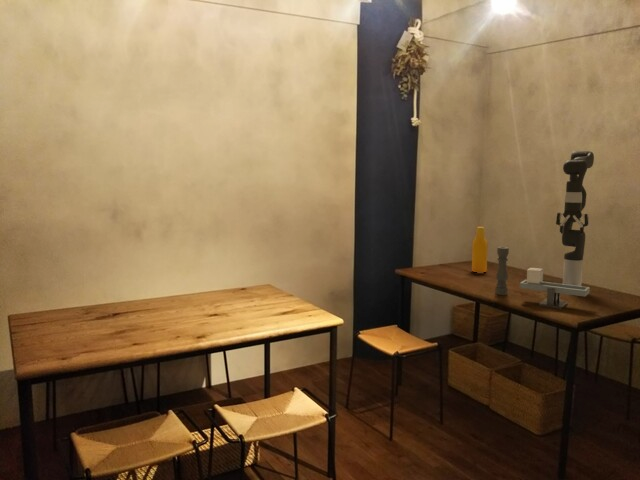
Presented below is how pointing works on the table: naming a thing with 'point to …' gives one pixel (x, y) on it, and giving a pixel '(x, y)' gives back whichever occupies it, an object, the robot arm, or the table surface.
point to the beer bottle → (479, 251)
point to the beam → (557, 288)
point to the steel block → (535, 276)
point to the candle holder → (502, 271)
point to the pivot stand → (553, 300)
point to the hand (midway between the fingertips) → (571, 234)
